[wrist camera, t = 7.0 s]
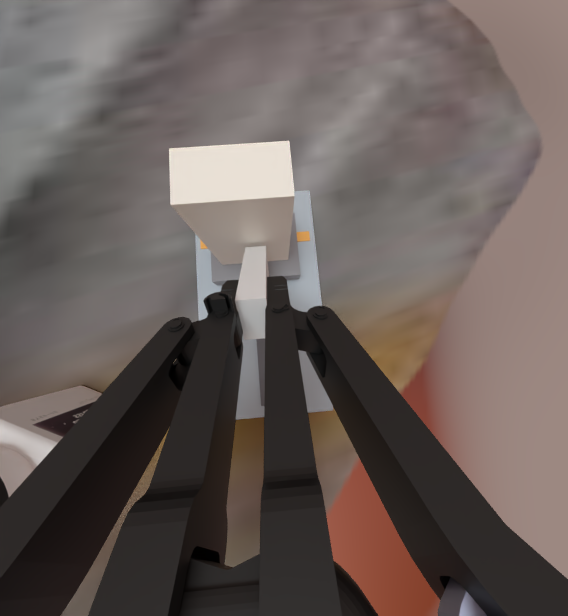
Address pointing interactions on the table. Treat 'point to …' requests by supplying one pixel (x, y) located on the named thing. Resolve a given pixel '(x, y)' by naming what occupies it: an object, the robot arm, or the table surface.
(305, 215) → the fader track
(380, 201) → the table surface
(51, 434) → the container
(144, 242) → the table surface
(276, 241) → the fader
